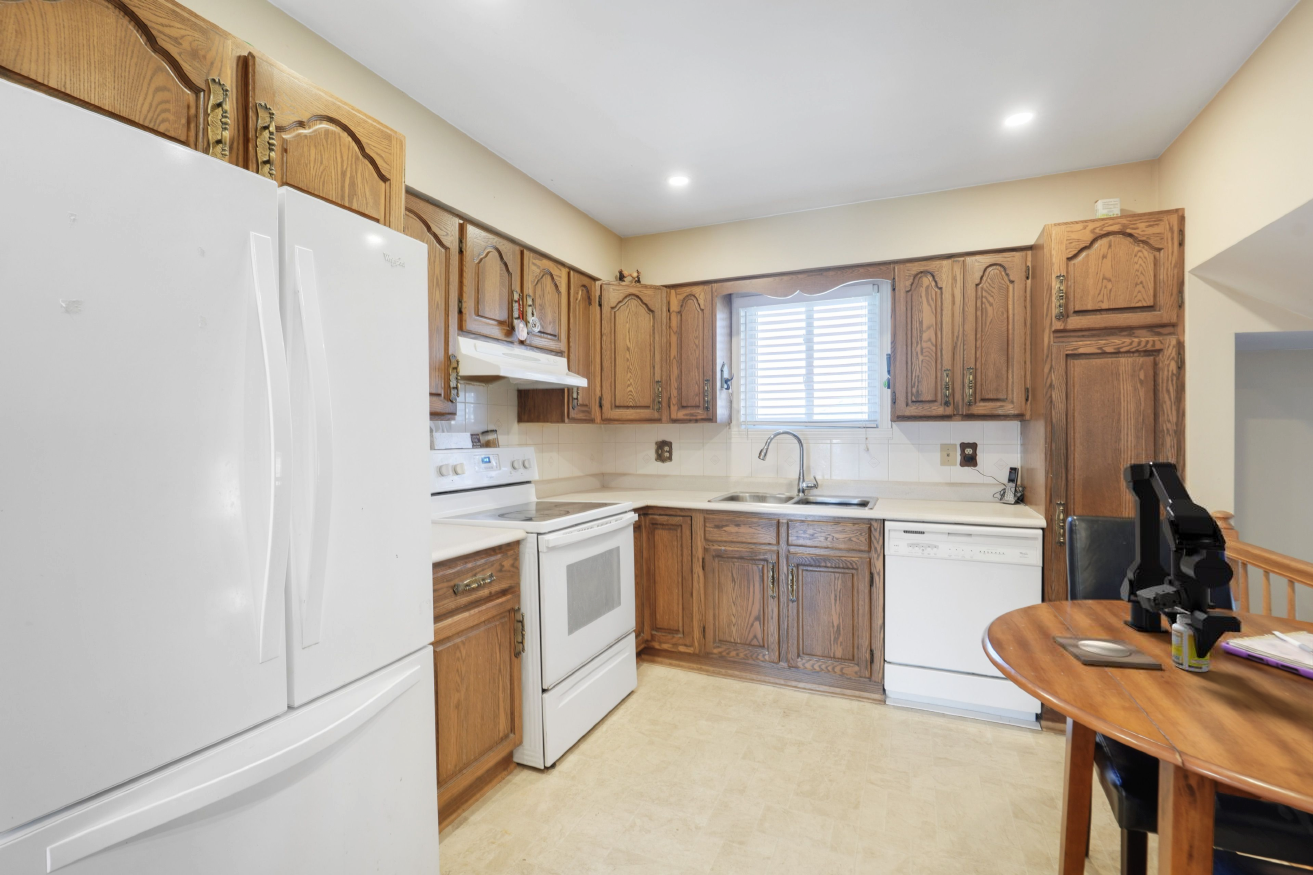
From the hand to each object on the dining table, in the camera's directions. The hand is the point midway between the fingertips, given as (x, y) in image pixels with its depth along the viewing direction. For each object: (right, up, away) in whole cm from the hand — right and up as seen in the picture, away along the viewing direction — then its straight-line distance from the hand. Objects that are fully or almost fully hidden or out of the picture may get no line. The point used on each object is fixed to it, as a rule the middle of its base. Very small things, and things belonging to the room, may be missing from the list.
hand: (1190, 652), depth 117 cm
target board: (-12, -3, +8) cm, 14 cm away
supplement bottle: (0, -3, 0) cm, 3 cm away
